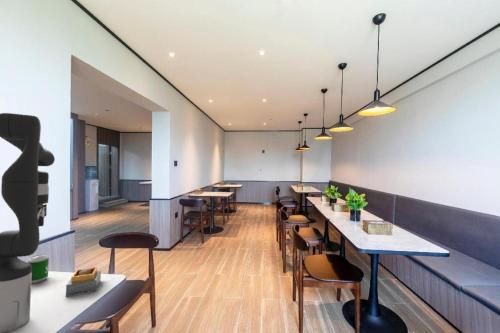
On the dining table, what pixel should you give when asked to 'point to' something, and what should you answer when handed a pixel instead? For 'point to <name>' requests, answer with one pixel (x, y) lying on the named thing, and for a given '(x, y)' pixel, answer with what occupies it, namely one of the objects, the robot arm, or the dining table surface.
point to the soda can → (39, 267)
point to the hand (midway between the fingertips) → (36, 228)
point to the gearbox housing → (83, 282)
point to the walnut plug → (85, 272)
